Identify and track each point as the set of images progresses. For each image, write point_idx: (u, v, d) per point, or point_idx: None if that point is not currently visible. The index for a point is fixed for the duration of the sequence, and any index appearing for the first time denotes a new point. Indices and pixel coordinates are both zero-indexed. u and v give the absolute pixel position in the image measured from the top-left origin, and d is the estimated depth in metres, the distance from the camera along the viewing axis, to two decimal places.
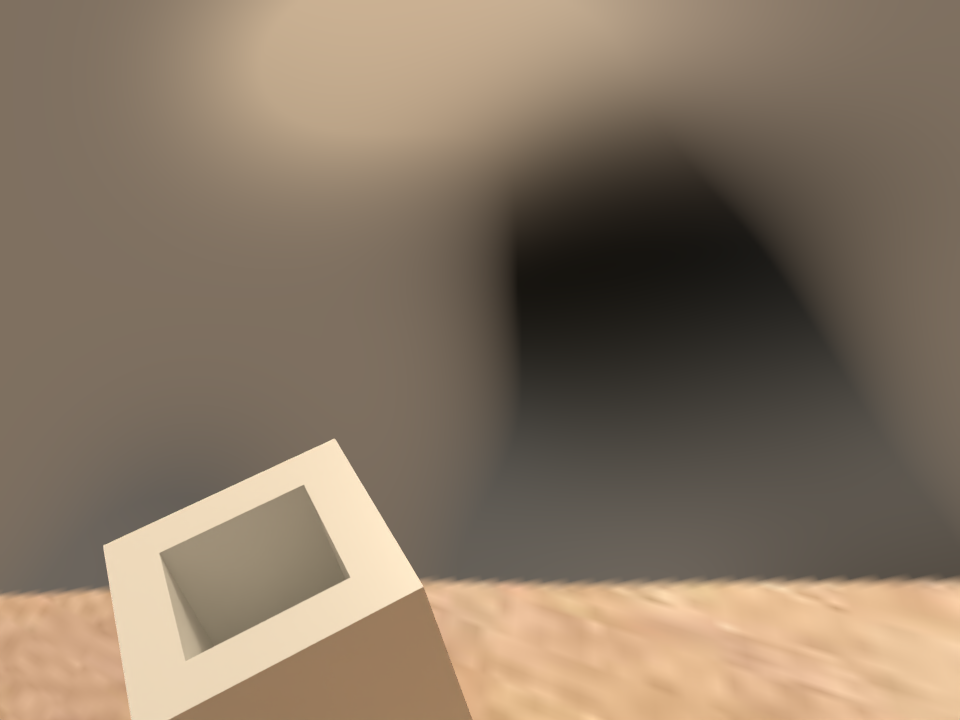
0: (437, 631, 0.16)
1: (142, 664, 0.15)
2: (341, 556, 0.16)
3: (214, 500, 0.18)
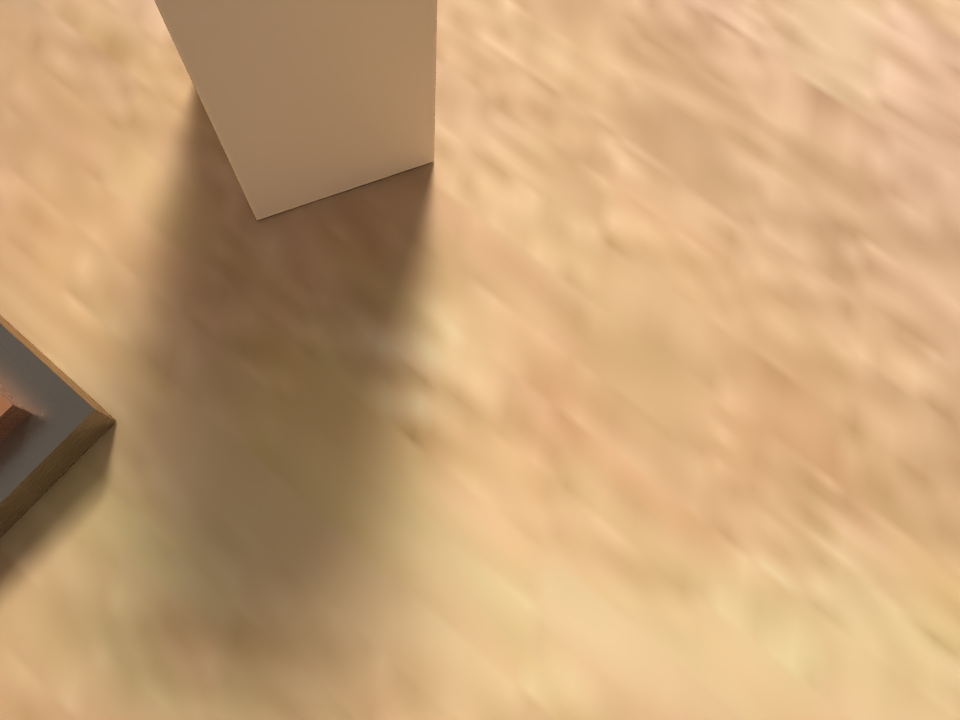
0: None
1: None
2: None
3: None
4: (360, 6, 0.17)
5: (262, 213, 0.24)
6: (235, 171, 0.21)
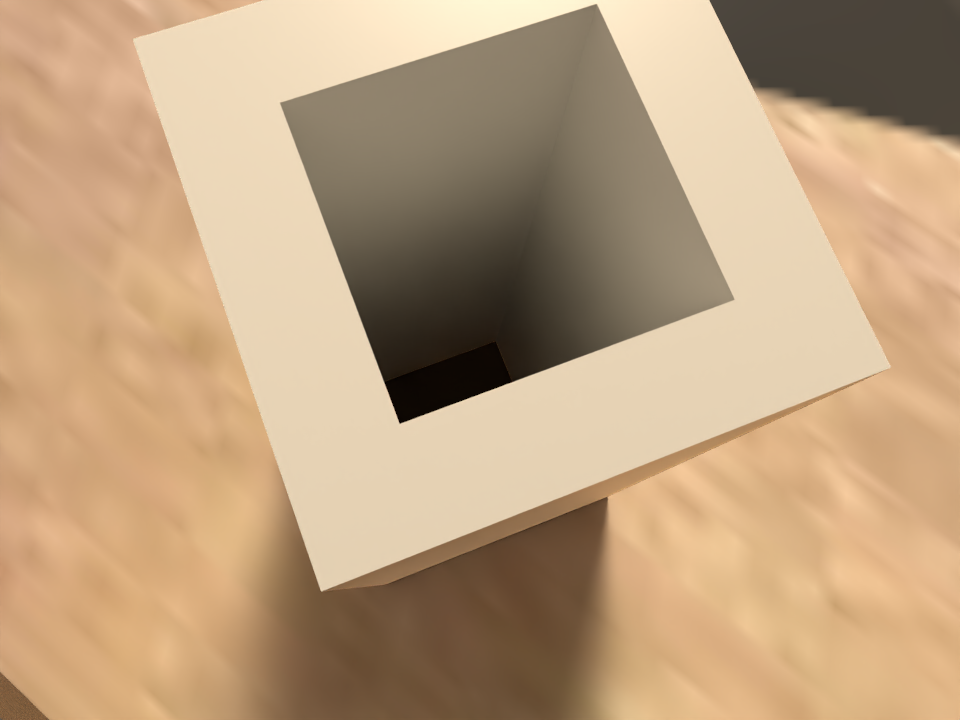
0: None
1: (301, 407, 0.07)
2: (709, 238, 0.08)
3: None
4: (613, 486, 0.12)
5: (395, 580, 0.18)
6: (380, 584, 0.16)
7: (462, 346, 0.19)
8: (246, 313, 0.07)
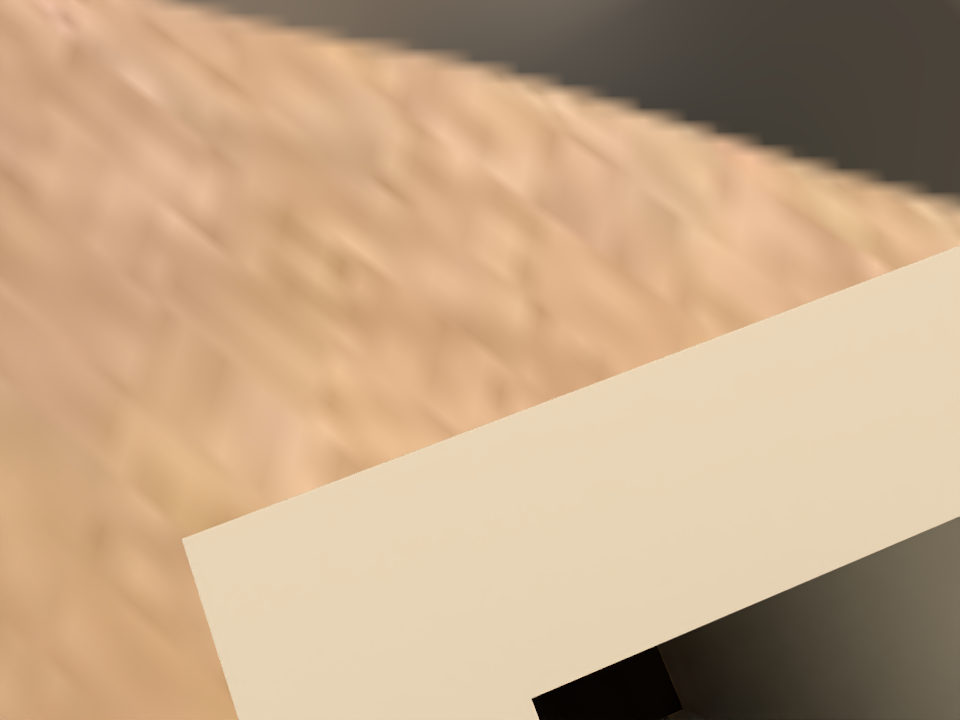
0: None
1: None
2: None
3: (748, 374, 0.04)
4: None
5: None
6: None
7: None
8: None
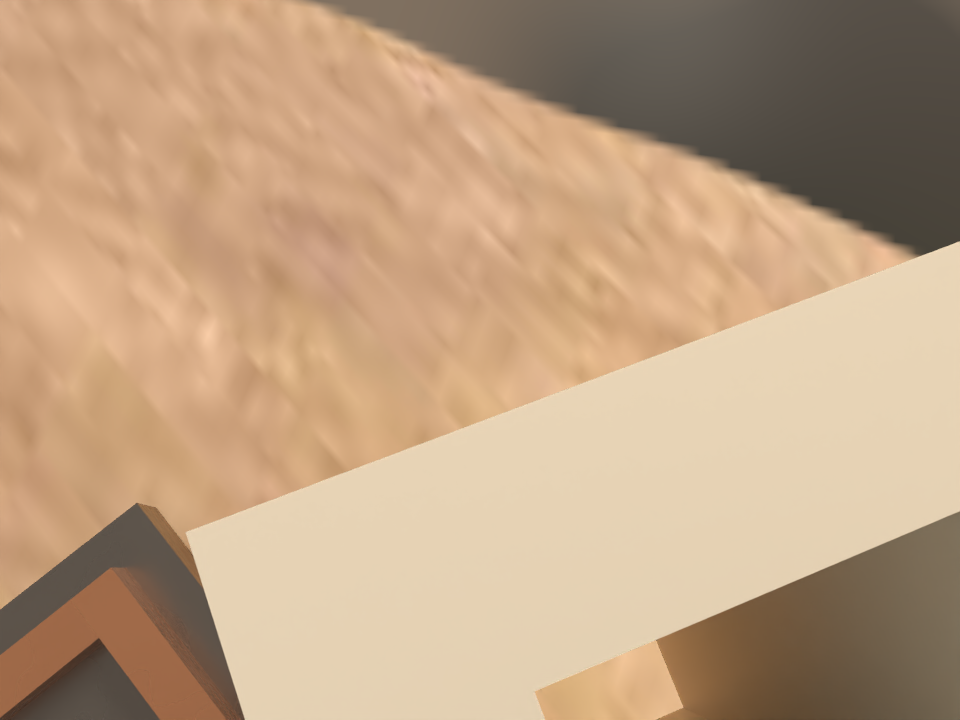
0: None
1: None
2: None
3: (753, 367, 0.04)
4: None
5: None
6: None
7: None
8: None
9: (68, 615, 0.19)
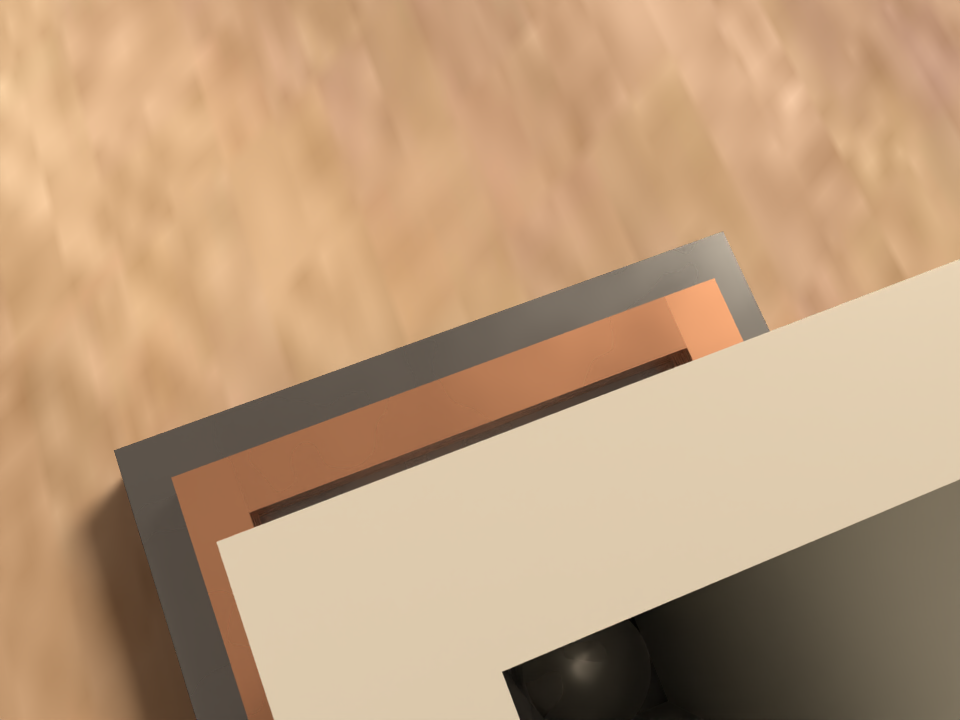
0: None
1: None
2: None
3: (686, 403, 0.04)
4: None
5: None
6: None
7: None
8: None
9: (659, 312, 0.16)
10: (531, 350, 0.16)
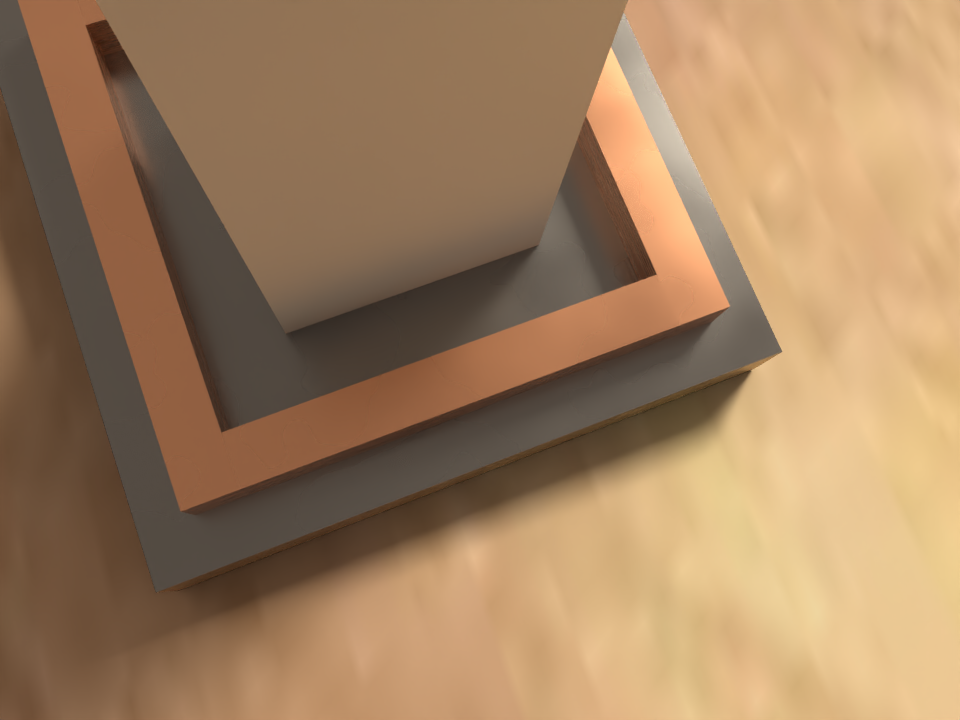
0: None
1: None
2: None
3: None
4: (493, 46, 0.10)
5: (294, 325, 0.16)
6: (260, 284, 0.14)
7: None
8: None
9: None
10: None
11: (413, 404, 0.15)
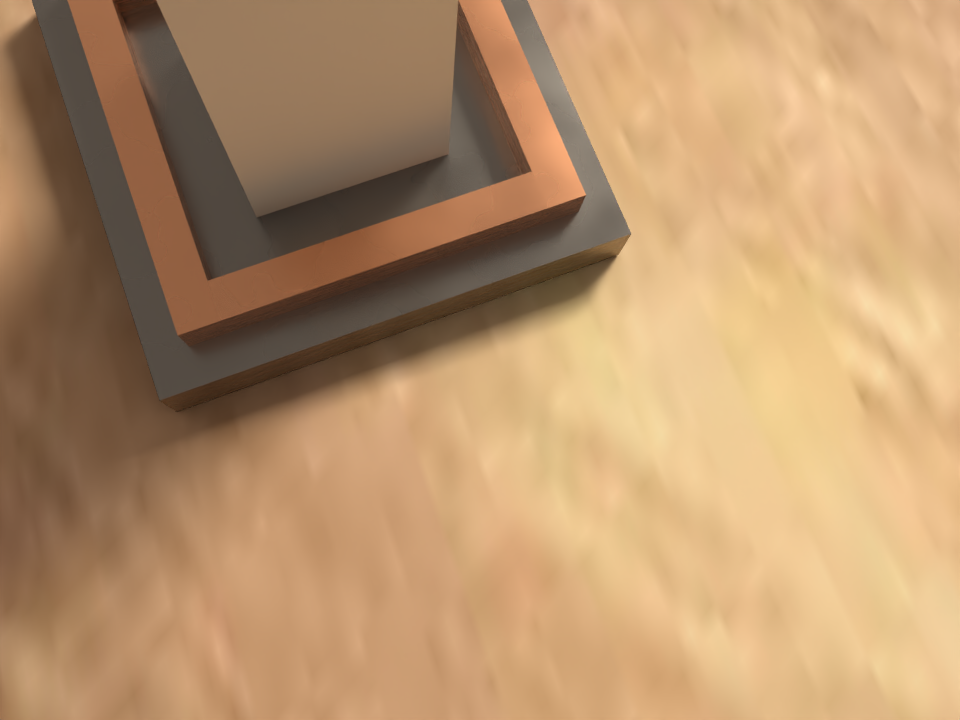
0: None
1: None
2: None
3: None
4: None
5: (263, 210, 0.22)
6: (234, 164, 0.19)
7: None
8: None
9: None
10: None
11: (348, 262, 0.21)
